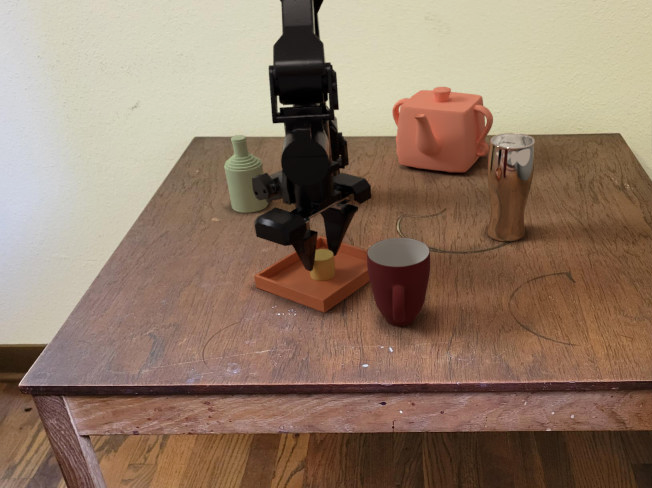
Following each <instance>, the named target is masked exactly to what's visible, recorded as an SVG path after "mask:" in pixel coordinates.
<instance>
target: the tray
mask: <svg viewBox="0 0 652 488" xmlns="http://www.w3.org/2000/svg"><path fill="white" fill-rule="evenodd" d="M317 249H327V250H328V245H327V239H326V236H323V235H318V236H317V244H316V250H317ZM367 251H368V249H366V248H363V247H359V246H355V245H353V244H349V243H347V242H343V241H342V243H341V246H340V248H339V251H338V253H337V255H336V256H334V261H335V276H334V277H333V278H332V279H329V280H326V281H317V280H314V279H312V278H311V276H310V271H308V270H306V269H305V267H304V266H303V264H302V262H301V260H300V258H299V256H298V255H297V253H296V251H295V250H294V251H293V252H291V253H289V254H287V255H286V256H284V257H283V258H281V259H279V260H277V261H276V262H274V263H273V264H271V265H268V266H267V267H266V268H264V269H262V270H260V271H259V272H258V273H256V274H254V275H253V277H254V283H255V288H257V289H259V290H262V291H264V292H267V293H270V294H273V295H276V296H278V297H280V298H283V299H287V300H289V301H292V302H294V303H297V304H299V305H303V306H305V307H307V308H310V309H312V310H316V311H318V312H321V313H327V312H328V311H329V310H331V309H332V308H333V307H335V306H336V305H338V304H340V303H341V302H342V301H344V300H345V299H346V298H348V297H349V296H350V295H352V294H354V293H355V292H356V291H358V290H359V289H361V288H362V287H363V286H365V285H366V284H368V283H370V279H369V275H368V268H367Z"/></svg>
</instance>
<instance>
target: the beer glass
mask: <svg viewBox="0 0 652 488" xmlns="http://www.w3.org/2000/svg"><path fill="white" fill-rule="evenodd" d="M535 142H536V140H535V139H534V137H533V136H530V135H529V134H525V133H519V132H504V133H499V134H496V135H494V136H492V137H491V138H490V140H489V151H488V157H487V158H488V159H487V174H486V175H487V176H486V177H487V187H488V195H489V203H490V218H489V221H488V222H489V224H488V226H487V230H486V233H487V236H488V237H489V238H491V239H492V240H494V241H498V242H503V243H504V242H505V243H506V242H507V243H508V242H516V241H519V240H522V239H523V238H524V237H525V235H526V226H525V210H526V206H527V202H528V197H529V194H530V191H531V186H532V183H533V179H534V178H533V177H534V170H535Z"/></svg>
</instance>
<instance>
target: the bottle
mask: <svg viewBox="0 0 652 488" xmlns="http://www.w3.org/2000/svg"><path fill="white" fill-rule="evenodd" d="M230 140H231V141H230V142H231V144H232V145H231V146H232V150H233V154H232V155H231V156H230V157H229V158H228V159H227V160H226V161H225V163H224V165H223V168H224V172H225V177H226V184H227V189H228V193H229V200H230V204H231V208H232V210H233V211H234V212H236V213H243V214H250V213H256V212H260V211H263V210H265V209H266V208H267V207H268V205H269V203H267V201H266V199H264V200H258V199H257V198H256V197H255V194H254V192H253V188H252V178H253V177H255V176H257V175H259V174H264V173H265V172H264V167H263V161H262V160H261V158H259V157H257V156H256V155H254V154H252V153H251V152H249V149H248V143H247V140H248V139H247V137H246V135H243V134H236V135H234V136H233V135H232V136H231V138H230Z"/></svg>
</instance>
